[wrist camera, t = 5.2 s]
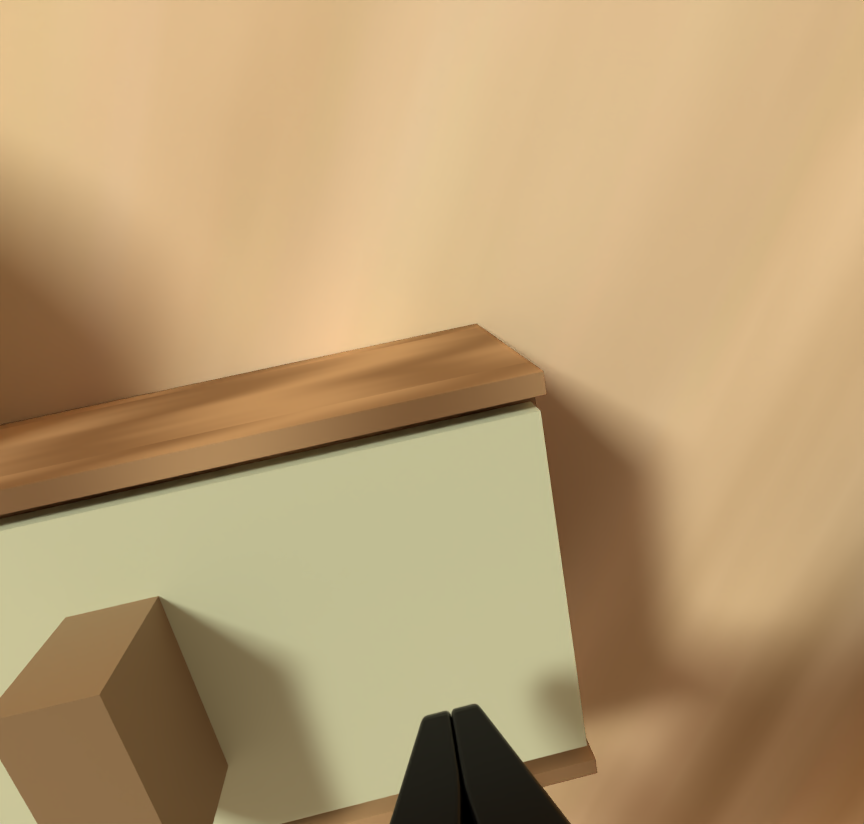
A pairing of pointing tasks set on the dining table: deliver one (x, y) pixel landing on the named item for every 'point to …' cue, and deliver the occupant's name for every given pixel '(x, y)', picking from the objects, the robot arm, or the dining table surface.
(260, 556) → the lid
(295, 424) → the box
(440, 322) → the dining table surface
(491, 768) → the robot arm
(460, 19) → the dining table surface
